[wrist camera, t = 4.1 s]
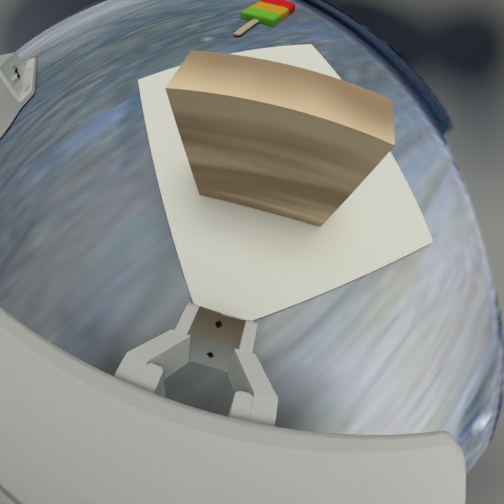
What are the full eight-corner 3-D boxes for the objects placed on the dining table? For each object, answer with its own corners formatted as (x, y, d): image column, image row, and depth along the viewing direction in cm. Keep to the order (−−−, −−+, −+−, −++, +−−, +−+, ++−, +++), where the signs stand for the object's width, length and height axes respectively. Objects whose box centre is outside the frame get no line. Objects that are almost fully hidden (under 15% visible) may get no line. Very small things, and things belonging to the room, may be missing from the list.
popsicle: (296, 11, 31) (298, 3, 29) (254, 44, 27) (255, 33, 26) (266, 3, 31) (267, -5, 29) (218, 35, 28) (218, 25, 26)
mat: (139, 84, 25) (137, 80, 24) (310, 48, 27) (311, 44, 26) (206, 335, 20) (205, 336, 19) (428, 243, 22) (433, 241, 21)
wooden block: (320, 227, 21) (394, 145, 9) (199, 194, 21) (165, 87, 10) (326, 192, 22) (392, 98, 10) (211, 162, 22) (193, 48, 10)
